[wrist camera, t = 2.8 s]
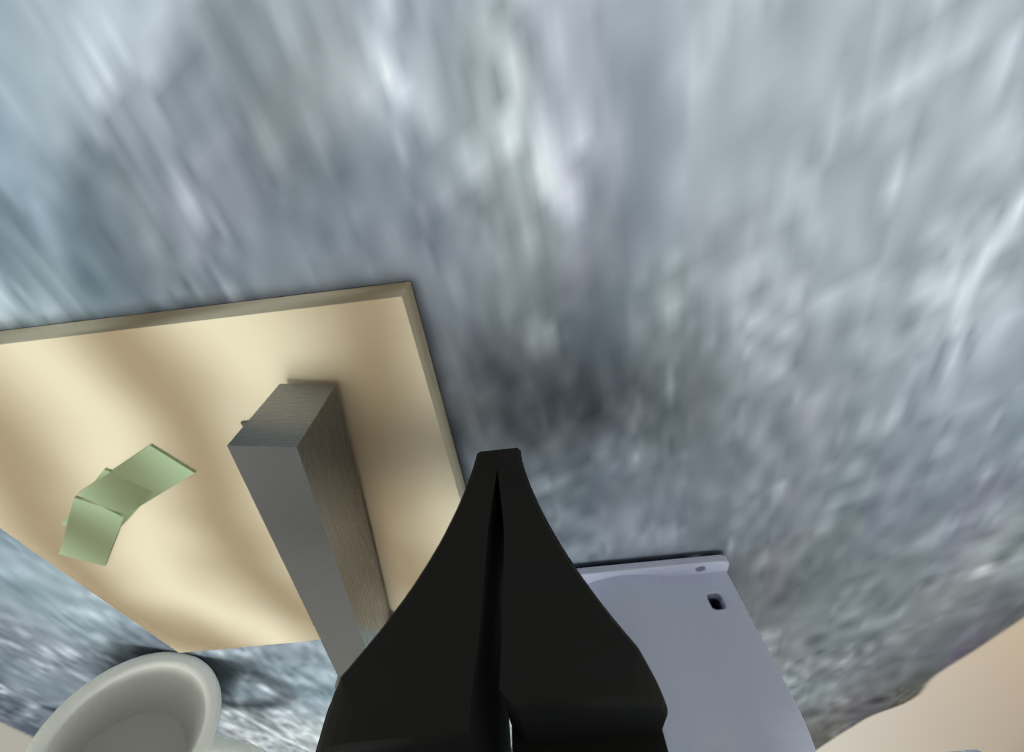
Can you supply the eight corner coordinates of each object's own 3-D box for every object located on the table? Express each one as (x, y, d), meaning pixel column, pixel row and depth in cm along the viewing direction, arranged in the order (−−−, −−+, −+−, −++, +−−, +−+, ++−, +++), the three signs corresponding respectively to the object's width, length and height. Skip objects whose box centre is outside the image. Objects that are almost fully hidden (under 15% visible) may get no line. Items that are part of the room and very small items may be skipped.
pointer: (347, 383, 11) (296, 469, 8) (399, 630, 20) (384, 712, 17) (270, 381, 11) (193, 467, 8) (358, 630, 20) (335, 713, 17)
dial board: (410, 281, 11) (401, 297, 10) (495, 600, 21) (495, 625, 20) (-162, 350, 12) (-231, 373, 10) (193, 629, 22) (177, 655, 21)
